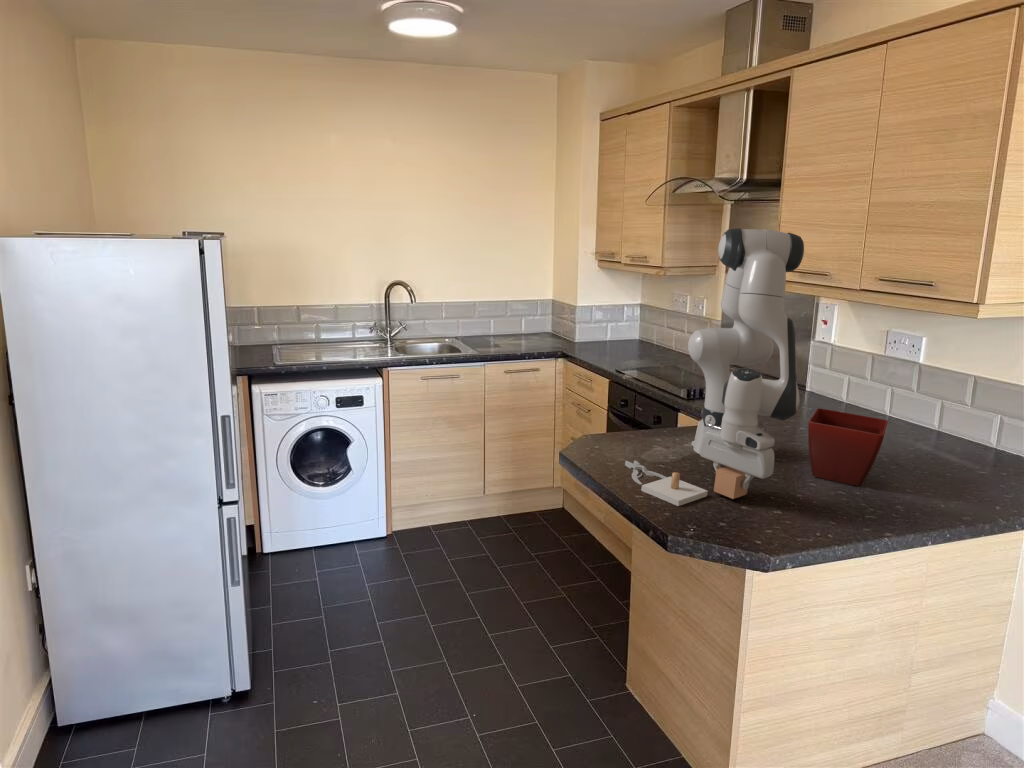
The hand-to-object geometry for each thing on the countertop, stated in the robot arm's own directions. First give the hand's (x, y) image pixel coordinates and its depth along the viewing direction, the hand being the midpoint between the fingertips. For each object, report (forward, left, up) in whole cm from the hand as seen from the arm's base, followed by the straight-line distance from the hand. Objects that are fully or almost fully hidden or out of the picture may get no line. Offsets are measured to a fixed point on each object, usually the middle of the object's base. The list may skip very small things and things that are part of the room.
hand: (731, 483), depth 184 cm
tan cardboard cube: (0, 0, -3) cm, 3 cm away
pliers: (+7, -24, -4) cm, 25 cm away
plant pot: (-42, +9, -4) cm, 43 cm away
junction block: (+11, -9, -4) cm, 15 cm away
